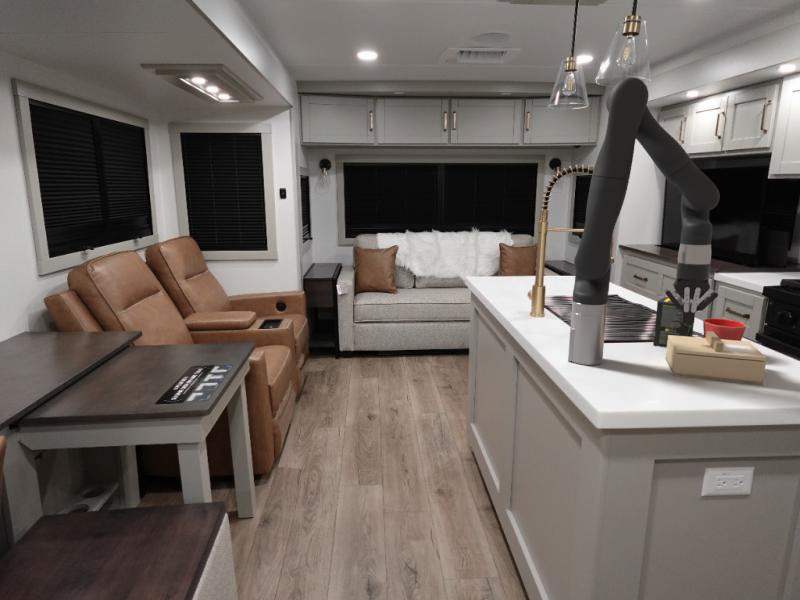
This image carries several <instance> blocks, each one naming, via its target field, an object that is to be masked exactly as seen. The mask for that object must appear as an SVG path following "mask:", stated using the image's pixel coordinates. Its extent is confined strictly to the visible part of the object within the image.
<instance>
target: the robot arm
mask: <svg viewBox="0 0 800 600" xmlns="http://www.w3.org/2000/svg"><path fill="white" fill-rule="evenodd" d="M649 98H650V97H649V89H648V86H647V85H646V83H645V82H644V81H643V80H642V79H640V78H639V77H627V78H624V79H622V80H620V81H619V82H617V83H616V84H615V85H614V86H613V87H612V88H611V90H610V91H609V93H608V94H607V97H606V101H605V105H606V110H607V112H608V118H607V125H606V130H605V136H604V139H603V143H602V144H601V147H600V150H599V152H598V155H597V157H596V161H595V164H594V167H593V171H592V175H591V179H590V186H589V191H588V196H587V201H586V202H587V203H586V211H585V222H584V229H583V231H582V234H581V235H582V236H581V239H580V243H579V245H578V248H577V251H576V254H575V257H574V260H573V265H574V269H575V274H574V275H575V276H574V285H573V290H572V304H571V305H572V306H571V318H570V330H569V341H568V342H569V343H568V344H569V345H568V355H567V356H568V357H567V362H571V361H572V363H575V364H579V365H586V366H595V365H600V364H602V362H603V359H604V358H603V357H604V346H605V335H606V334H605V332H606V324H607V323H606V322H607V311H608V310H607V308H608V299H609V292H610V282H611V281H610V279H611V270H612V255H611V249H612V248H611V247H612V240H613V235H614V229H615V226H616V224H617V221H618V219H619V216H620V214H621V211H622V209H623V205H624V202H625V198H626V195H627V191H628V186H629V182H630V179H631V178H630V177H631V173H632V172H631V171H632V165H633V161H634V160H633V159H634V153H635V146H636V145H635V144H636V141H638V143H639V144H640V145H641V146H642V148H643V149H644V151H645V152H646V153H647V155H648V156H649V157H650V159H651V161H653V163H654V164H655V166H656V167H657V168H658V170H659V171H660V172H661V173H662V175H663V176H664V177H665V179H666V180H667V181H668V183H670V184H671V185H673V186H674V187H676V188H677V189H678V191H679V192H680V193H681V194H682V196H681V200H680V215H681V217H680V218H681V225H682V226H681V227H682V228H681V232H680V233H681V235H680V243H679V249H678V253H677V254H678V255H677V265H676V275H675V281H674V282H673V284H672V285H673V286H671V287H669V288H666V289H665V290H664V293H665V296H668V297H669V299H670V300H671V301H672V303H673V304H674V305H675V307H676V308H677V309H679V310H682V323H684V325H685V326H691V324H693V323H694V324H695V319H696V312H699V311H704V310H705V309H706V308H707V307H708V306H710V304H712V302H713V301H715V299H716V298H718V296H719V293H718V292H717V291H715V290H713V289H712V288H711V285H710V282H709V280H710V270H711V269H710V268H711V260H712V240H713V239H712V238H713V224H712V223H711V221H710V211H711V210H713V209H715V208H716V207H717V206H718V204H719V202H720V195H721V194H720V192H719V189H718V188H717V186H716V184H715V183H714V182H713V181H712V180H711V179H710V178H709V177H708V176H707V175H706V174H705V173H704V172H703V171H702V170H701V169H700V168H698V167H697V166H696V164H695V162H694V161H693V160H692V158H691V157H690V155H689V154H688V153H687V152H686V150H685V149H684V148H683V146H682V145H681V144H680V143H679V142H678V141H677V140H676V139H675V138H674V137H673V136H672V135H671V134H670V133H669V132H668V131H667V130H665V129H664V127H662V126H661V124H660V123H659V122H658V121H657V120H656V118H655V117H654V116H653V114H652V113H651V110H650V109H649V107H648V105H647V104H648V101H649ZM676 292H677V294H678V295H679V297H681V298H682V305H681V304H679V302H678V301H677V300H676V299H675V297H676ZM704 295H706V297H704ZM674 296H675V297H674ZM702 297H704V298H703V300H702V301H701V302H699V300H700V299H701V298H702ZM689 299H691V300H690V307H689Z"/></svg>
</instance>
